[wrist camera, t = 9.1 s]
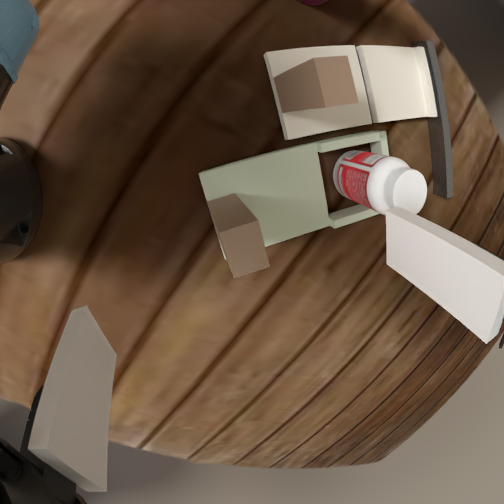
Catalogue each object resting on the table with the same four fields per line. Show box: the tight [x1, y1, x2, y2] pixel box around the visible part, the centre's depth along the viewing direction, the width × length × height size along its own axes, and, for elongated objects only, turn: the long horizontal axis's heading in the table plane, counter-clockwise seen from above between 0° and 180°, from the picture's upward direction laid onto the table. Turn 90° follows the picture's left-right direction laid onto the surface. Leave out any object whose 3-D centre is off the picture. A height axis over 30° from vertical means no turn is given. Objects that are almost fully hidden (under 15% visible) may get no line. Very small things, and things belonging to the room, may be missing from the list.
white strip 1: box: [264, 45, 372, 140], centre depth 25 cm, size 11×10×11 cm
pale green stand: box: [198, 130, 389, 279], centre depth 29 cm, size 22×10×11 cm, turn 104°
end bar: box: [412, 40, 453, 198], centre depth 33 cm, size 2×23×3 cm, turn 15°
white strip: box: [356, 45, 437, 123], centre depth 30 cm, size 10×10×2 cm
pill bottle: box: [333, 150, 427, 215], centre depth 30 cm, size 6×6×11 cm
